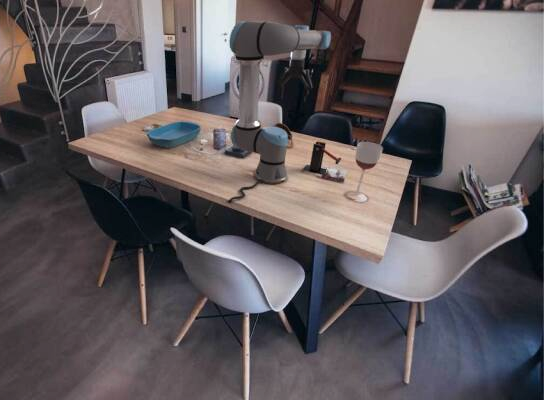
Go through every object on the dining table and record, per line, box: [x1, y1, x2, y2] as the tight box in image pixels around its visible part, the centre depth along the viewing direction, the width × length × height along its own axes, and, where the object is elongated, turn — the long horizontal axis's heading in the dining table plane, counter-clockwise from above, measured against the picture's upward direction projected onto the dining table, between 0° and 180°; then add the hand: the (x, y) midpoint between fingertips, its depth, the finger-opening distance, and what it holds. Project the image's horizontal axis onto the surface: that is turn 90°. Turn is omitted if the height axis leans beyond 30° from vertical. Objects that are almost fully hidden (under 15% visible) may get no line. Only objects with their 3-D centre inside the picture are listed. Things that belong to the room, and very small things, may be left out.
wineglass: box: [346, 141, 384, 203], centre depth 127 cm, size 9×10×23 cm
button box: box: [224, 144, 253, 159], centre depth 173 cm, size 10×12×4 cm
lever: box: [318, 143, 342, 165], centre depth 146 cm, size 13×6×2 cm, turn 59°
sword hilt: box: [271, 122, 294, 149], centre depth 185 cm, size 10×24×15 cm
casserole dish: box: [146, 120, 202, 149], centre depth 189 cm, size 37×22×7 cm, turn 146°
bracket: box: [301, 141, 328, 176], centre depth 150 cm, size 11×8×15 cm
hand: (292, 100), depth 173 cm, fingers open, 13 cm apart
